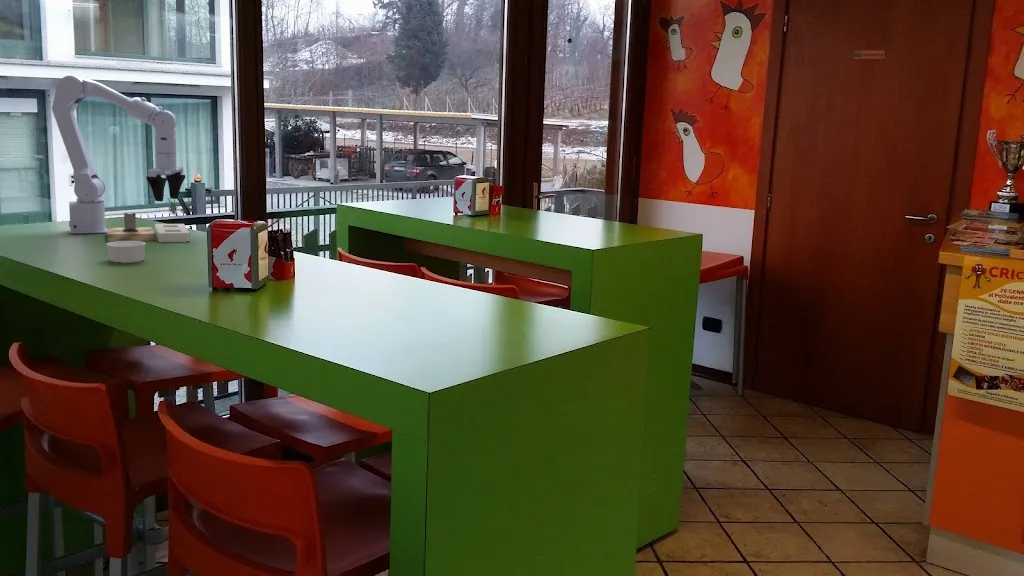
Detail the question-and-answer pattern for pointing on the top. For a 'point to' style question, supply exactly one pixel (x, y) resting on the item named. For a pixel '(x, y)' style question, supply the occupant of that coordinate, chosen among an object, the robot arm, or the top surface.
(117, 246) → the ramekin
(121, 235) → the socket block
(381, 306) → the top surface
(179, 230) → the tool rack
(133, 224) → the steel peg
